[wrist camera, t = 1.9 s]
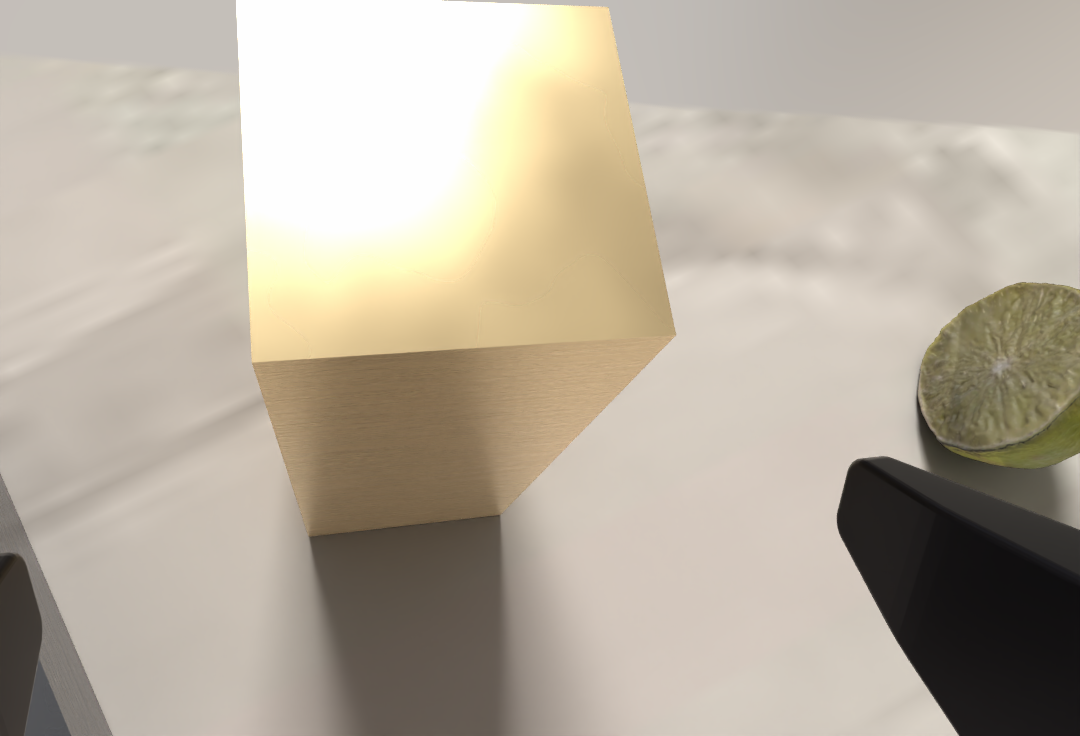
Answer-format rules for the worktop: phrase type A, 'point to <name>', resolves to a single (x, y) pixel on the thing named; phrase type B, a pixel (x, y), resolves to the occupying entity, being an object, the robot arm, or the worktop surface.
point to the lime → (1008, 378)
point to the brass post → (439, 247)
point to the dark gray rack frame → (52, 652)
